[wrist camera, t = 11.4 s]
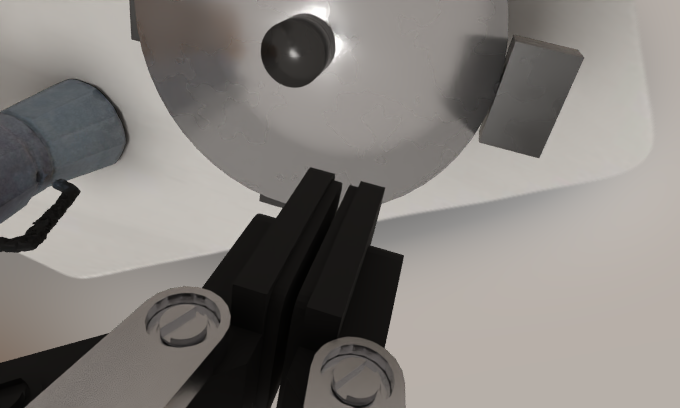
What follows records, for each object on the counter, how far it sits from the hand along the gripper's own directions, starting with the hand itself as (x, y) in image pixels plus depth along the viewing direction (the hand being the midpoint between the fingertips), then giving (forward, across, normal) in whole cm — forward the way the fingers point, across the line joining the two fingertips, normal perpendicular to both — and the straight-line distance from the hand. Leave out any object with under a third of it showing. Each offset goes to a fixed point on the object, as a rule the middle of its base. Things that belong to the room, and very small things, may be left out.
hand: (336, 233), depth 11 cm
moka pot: (+29, +29, +17) cm, 44 cm away
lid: (+16, +4, 0) cm, 17 cm away
